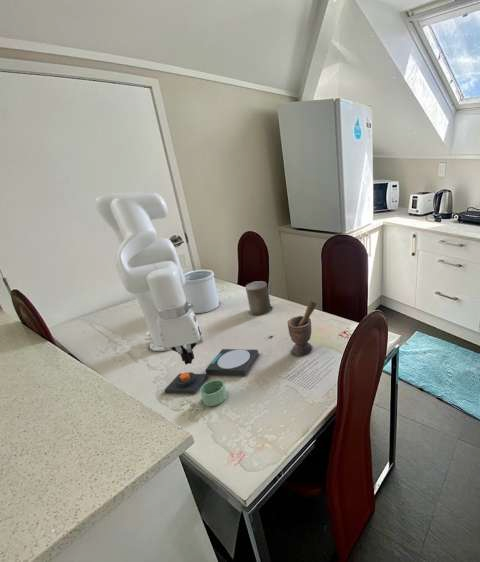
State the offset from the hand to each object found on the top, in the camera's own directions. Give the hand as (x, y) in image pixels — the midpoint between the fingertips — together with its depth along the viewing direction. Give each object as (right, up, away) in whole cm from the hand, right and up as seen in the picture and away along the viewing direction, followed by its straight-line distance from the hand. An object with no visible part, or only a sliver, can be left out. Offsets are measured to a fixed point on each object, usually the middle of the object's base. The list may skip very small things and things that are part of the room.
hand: (189, 361), depth 98 cm
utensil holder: (-27, +12, +59) cm, 66 cm away
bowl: (+8, -12, +1) cm, 15 cm away
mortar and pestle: (+31, -2, +26) cm, 40 cm away
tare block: (-5, -10, +7) cm, 13 cm away
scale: (+7, -6, +17) cm, 19 cm away
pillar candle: (+3, +11, +55) cm, 56 cm away
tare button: (-5, -7, +6) cm, 11 cm away
